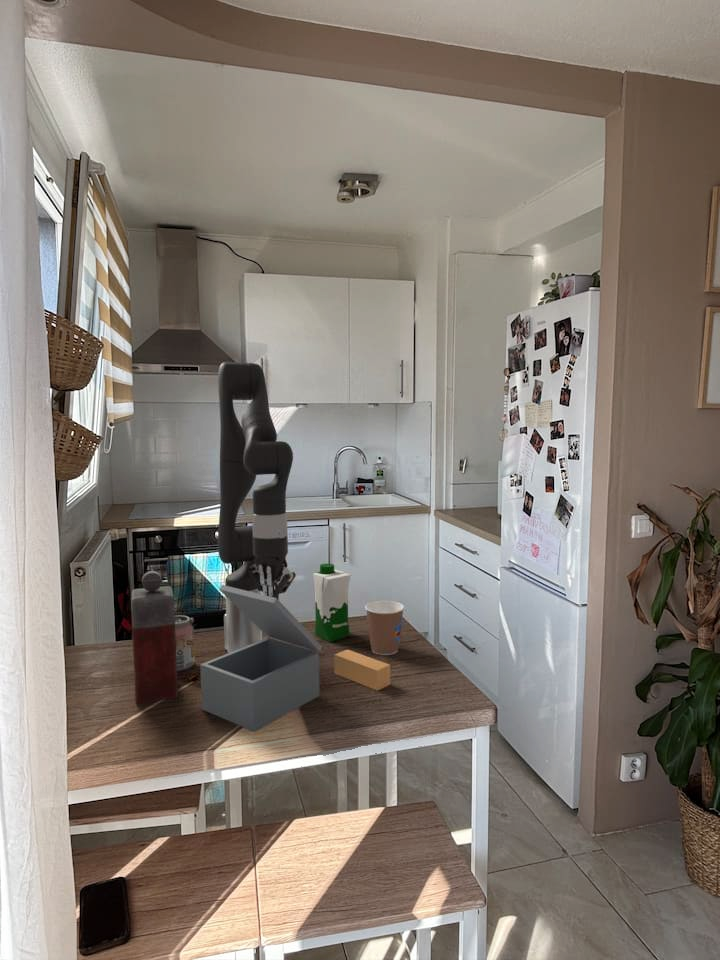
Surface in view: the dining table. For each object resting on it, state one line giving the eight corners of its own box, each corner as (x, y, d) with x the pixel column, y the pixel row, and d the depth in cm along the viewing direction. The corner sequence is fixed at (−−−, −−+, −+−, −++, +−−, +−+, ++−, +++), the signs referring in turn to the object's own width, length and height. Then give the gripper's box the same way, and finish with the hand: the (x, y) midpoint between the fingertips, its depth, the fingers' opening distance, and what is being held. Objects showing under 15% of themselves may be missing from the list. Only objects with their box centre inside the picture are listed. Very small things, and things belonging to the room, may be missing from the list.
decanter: (175, 677, 156) (171, 563, 153) (177, 697, 145) (173, 574, 142) (136, 682, 153) (130, 566, 150) (135, 703, 143) (129, 578, 139)
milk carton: (335, 628, 190) (334, 561, 187) (354, 636, 183) (354, 567, 180) (310, 635, 184) (309, 566, 182) (329, 644, 177) (328, 572, 175)
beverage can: (159, 660, 166) (157, 615, 165) (193, 656, 169) (191, 611, 168) (161, 674, 158) (159, 626, 156) (197, 669, 161) (195, 622, 159)
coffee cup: (405, 657, 167) (405, 612, 166) (365, 657, 168) (364, 612, 166) (403, 643, 178) (403, 600, 176) (365, 643, 178) (365, 600, 176)
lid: (219, 589, 142) (221, 584, 142) (266, 636, 154) (269, 631, 155) (273, 603, 132) (276, 598, 132) (319, 651, 144) (322, 647, 145)
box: (201, 709, 140) (200, 664, 138) (268, 678, 155) (267, 637, 154) (253, 731, 130) (252, 683, 129) (319, 695, 146) (318, 652, 145)
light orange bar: (334, 674, 158) (334, 654, 157) (347, 668, 161) (347, 649, 161) (377, 691, 148) (377, 670, 148) (390, 685, 152) (390, 664, 151)
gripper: (236, 533, 142) (238, 610, 144) (280, 539, 134) (282, 621, 136) (261, 528, 148) (263, 602, 150) (304, 534, 140) (306, 612, 142)
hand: (272, 611), depth 143 cm, fingers closed
